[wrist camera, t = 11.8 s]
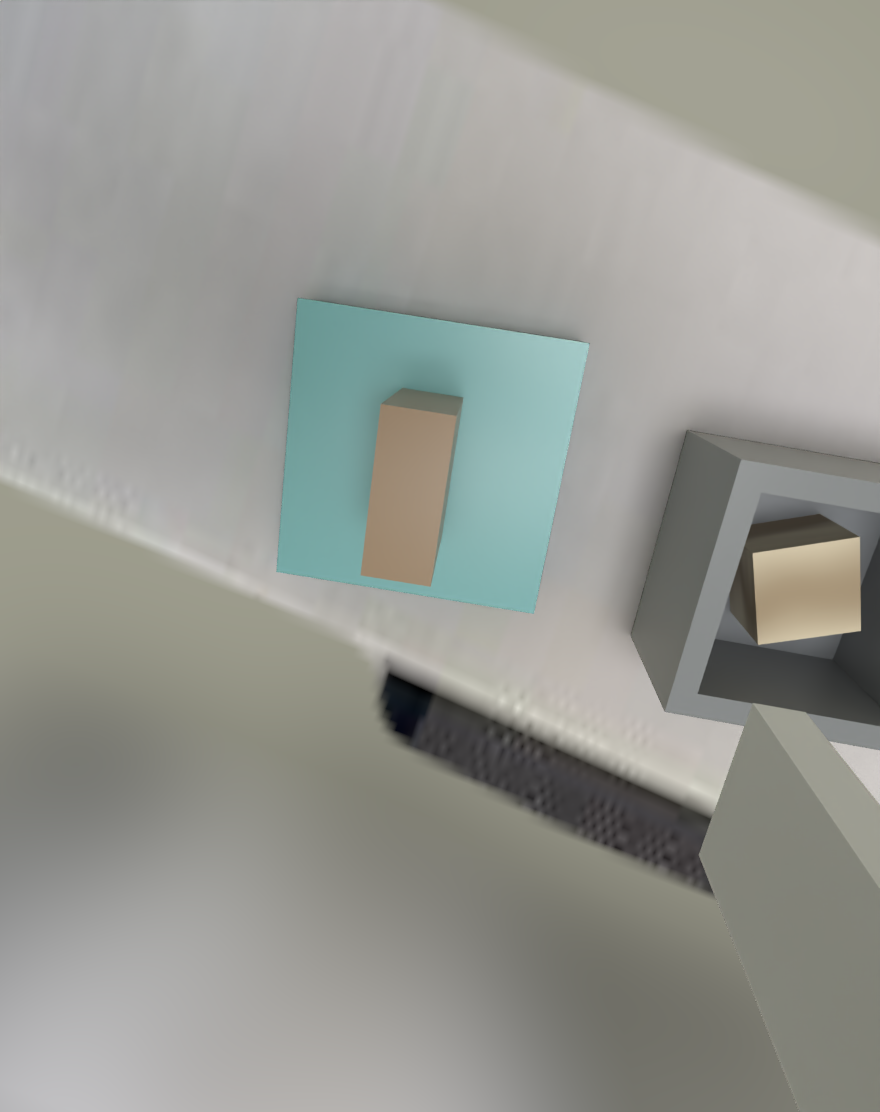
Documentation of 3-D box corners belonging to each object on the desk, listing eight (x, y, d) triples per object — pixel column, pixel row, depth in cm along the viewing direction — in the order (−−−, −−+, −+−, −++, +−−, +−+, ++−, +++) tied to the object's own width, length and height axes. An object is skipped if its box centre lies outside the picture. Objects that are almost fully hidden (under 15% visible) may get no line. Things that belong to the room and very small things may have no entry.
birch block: (724, 528, 31) (752, 553, 28) (819, 513, 31) (860, 537, 27) (730, 611, 32) (757, 644, 29) (822, 598, 32) (861, 631, 28)
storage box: (687, 430, 31) (741, 459, 24) (915, 469, 31) (1032, 510, 24) (630, 636, 34) (664, 711, 27) (837, 672, 34) (921, 757, 27)
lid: (312, 299, 30) (248, 291, 22) (581, 341, 30) (615, 348, 22) (291, 554, 34) (229, 626, 26) (530, 593, 34) (543, 678, 26)
